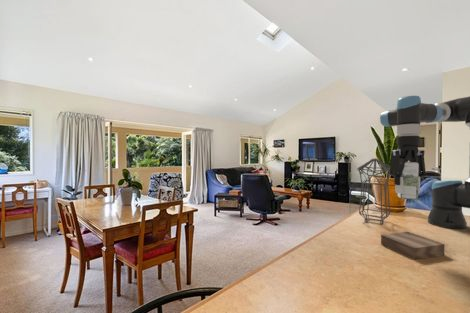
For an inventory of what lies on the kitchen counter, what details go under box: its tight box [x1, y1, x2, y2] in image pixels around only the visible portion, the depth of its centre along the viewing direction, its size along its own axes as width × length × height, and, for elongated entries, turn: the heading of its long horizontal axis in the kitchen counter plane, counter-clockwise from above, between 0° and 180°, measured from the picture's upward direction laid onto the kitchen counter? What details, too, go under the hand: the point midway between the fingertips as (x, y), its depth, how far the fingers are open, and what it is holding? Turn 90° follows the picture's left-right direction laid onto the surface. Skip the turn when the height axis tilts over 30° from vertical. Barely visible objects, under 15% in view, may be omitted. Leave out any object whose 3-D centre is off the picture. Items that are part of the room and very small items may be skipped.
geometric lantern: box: [356, 157, 391, 225], centre depth 127 cm, size 16×16×35 cm
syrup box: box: [397, 161, 419, 201], centre depth 93 cm, size 6×6×14 cm
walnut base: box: [380, 231, 445, 260], centre depth 91 cm, size 14×14×4 cm
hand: (407, 192), depth 93 cm, fingers closed on syrup box, 8 cm apart
